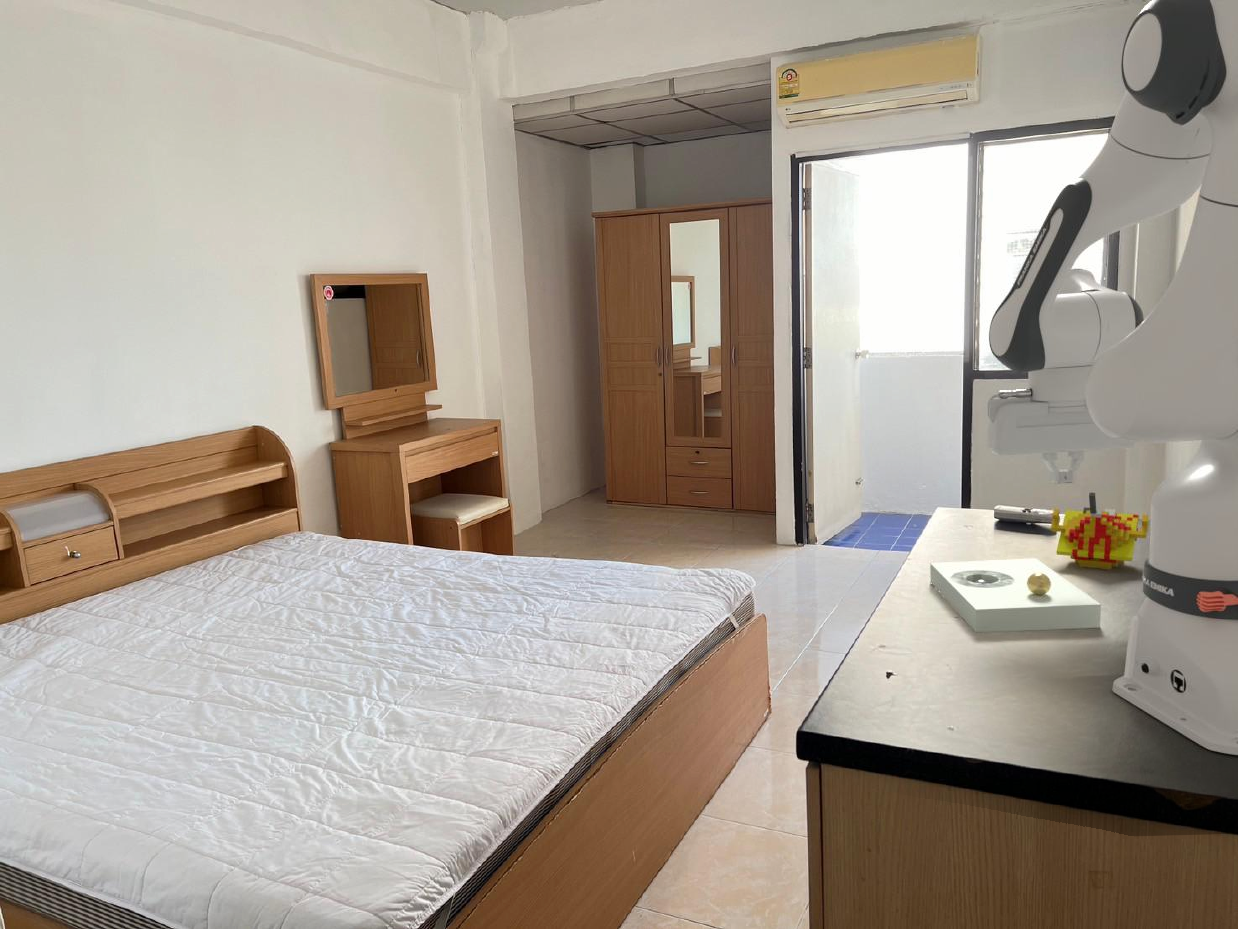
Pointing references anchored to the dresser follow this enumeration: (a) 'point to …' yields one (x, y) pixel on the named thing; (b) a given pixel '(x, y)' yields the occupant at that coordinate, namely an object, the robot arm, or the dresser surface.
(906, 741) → the dresser surface
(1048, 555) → the dresser surface
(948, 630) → the dresser surface
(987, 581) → the ball
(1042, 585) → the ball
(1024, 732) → the dresser surface
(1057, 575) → the board
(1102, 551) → the toy
